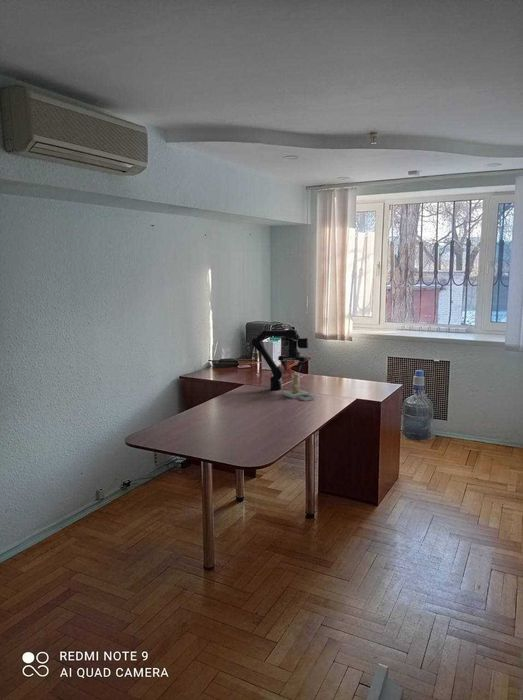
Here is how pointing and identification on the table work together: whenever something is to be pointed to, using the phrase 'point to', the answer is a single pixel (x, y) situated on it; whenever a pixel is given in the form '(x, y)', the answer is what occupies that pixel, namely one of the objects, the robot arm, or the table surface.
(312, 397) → the dowel holder
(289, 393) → the tray
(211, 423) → the table surface
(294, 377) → the dowel
